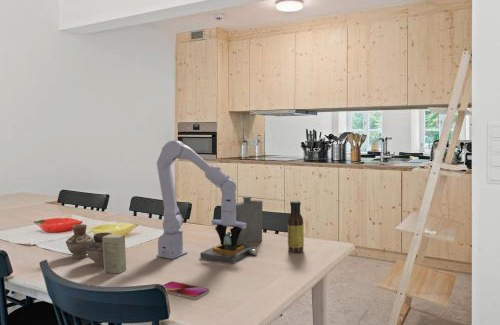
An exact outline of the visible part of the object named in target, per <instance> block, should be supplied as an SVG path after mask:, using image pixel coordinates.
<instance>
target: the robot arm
mask: <svg viewBox="0 0 500 325" xmlns="http://www.w3.org/2000/svg"><path fill="white" fill-rule="evenodd" d="M178 158H180V159H185V160H189V161H190V162H191V163H193V164H194V165H195V166H197V167H198V168H199V169H200V170H202V171H203V172H204V175H205V178H206V179H207V180H208V181H210V182H211V183H212V185H214V186H215V187H217V188H220V192H221V198H220V200H221V202H220V205H221V207H220V208H221V213H220V214H221V215H220V216H221V217H220V219H211V226H216V227H215V228H214V230H215V231H216V232H217V235H218V239H219V241H220V244H221V245H223V235H224V234H227V229H228V227H229V228H230V230H229V232H231V236H232V246H233V247H234V246H236V244H237V240H238V237H239V234H240V232H241V230H242V229H245V228H246V223H243V222H238V221H236V203H237V198H236V197H237V194H236V191H237V182H235V180H234V179H233V178H231V176H230V175H227V174H226V173H225V172H223V171H222V170H221V169H222V168H221V167H220V166H217V165H210V164H209V163H208V162H206V160H205V159H203V158H202V157H201V156H200V155H199V154H198V153H196V151H195V150H194V149H193V148H191V147H189V146H188V145H186V144H184V142H182V141H181V140H178V139H177V140H169V141H168V142H166V144H165V145H164V146H162V147H161V151H160V154H159V157H158V159H157V161H156V166H157V168H156V169H157V173H158V174H157V175H158V178H159V179H158V180H159V184H160V192H161V196H162V204H163V208H164V209H163V221H162V229H163V233H162V234H161V235H160V236H159V237H158V239H157V254H156V257H159V258H166V259H171V260H174V259H176V258H178V257H181V256H183V255H186V254H188V251H186V250H184V246H183V245H184V238H183V236H184V233H183V232H184V231H183V228H182V225H183V224H184V218H183V215H182V214H181V213H180V208H179V207H178V204H177V197H176V191H175V185H174V184H175V183H174V178H173V173H172V172H173V171H172V165H173V163H174V162H175V161H176V160H177V159H178Z"/></svg>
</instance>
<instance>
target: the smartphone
mask: <svg viewBox="0 0 500 325" xmlns="http://www.w3.org/2000/svg"><path fill="white" fill-rule="evenodd" d="M163 286H165V288H166V289H167V293H166V294H169V293H171V294H170V295H173V294H175V296H177V295H180V296H179V297H181V296H183V297H182V298H185V297H188V298H187V299H189V298H191V299H190V300H194V299H195V300H198V298H199V299H200V298H202V297H204V296H206V295H207V294H209V293H210V289H209V288H207V287H202V286H197V285H192V284H187V283H182V282H178V281H169V282H167V283H165V284H163ZM208 292H209V293H208ZM206 293H207V294H206ZM205 294H206V295H205ZM203 295H204V296H203ZM201 296H202V297H201Z"/></svg>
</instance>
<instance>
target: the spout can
mask: <svg viewBox="0 0 500 325" xmlns="http://www.w3.org/2000/svg"><path fill="white" fill-rule="evenodd" d="M223 249H226V250H234V249H235V246H234V247H233V246H232V236H231V231H227V232H226V234H224V235H223Z"/></svg>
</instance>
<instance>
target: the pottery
mask: <svg viewBox="0 0 500 325" xmlns="http://www.w3.org/2000/svg"><path fill="white" fill-rule="evenodd" d="M87 226H88V225H87V224H82V223H80V224H75V225H72V230H73V235H72V236H70V237H69V238H68V239H66V240H65V244H66V247H67V250H68V251H69V252H70V253H71V254H72V255H71V258H72V259H83V258H87V257H89V259H90V260H91V261H93V262H94V263H93V264H94V266H96V265H97V267H104V266H103V265H104V261H103V241H102V237H104V236H107V235H109V234H111V235H113V233H112V232H98V233H94V234H93V236H91V235H89V234H87V228H88V227H87ZM86 254H88V256H87V255H86Z"/></svg>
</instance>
